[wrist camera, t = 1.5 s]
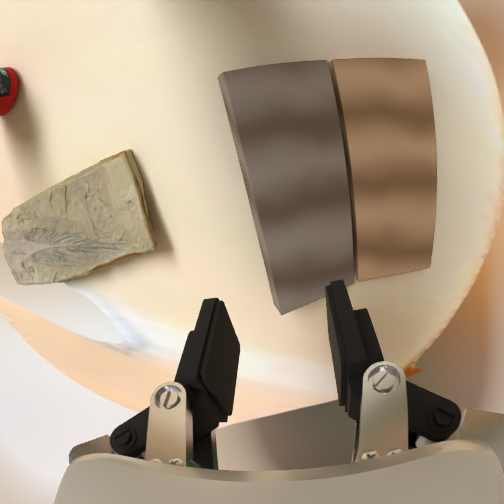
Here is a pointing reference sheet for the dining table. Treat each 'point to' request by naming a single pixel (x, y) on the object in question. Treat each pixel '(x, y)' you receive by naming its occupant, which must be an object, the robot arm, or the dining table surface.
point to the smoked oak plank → (293, 175)
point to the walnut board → (388, 162)
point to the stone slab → (79, 224)
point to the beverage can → (7, 89)
